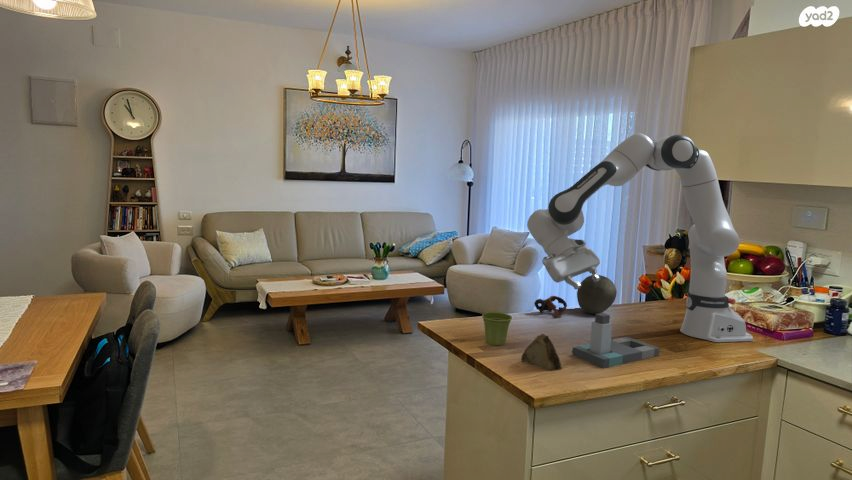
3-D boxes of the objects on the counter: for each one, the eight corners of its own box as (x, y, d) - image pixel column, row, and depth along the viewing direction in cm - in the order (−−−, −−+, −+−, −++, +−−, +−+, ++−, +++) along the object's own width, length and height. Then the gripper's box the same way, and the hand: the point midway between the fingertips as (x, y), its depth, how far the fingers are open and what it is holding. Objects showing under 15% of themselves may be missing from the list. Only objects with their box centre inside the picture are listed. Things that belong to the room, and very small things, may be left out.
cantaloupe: (588, 319, 210) (591, 279, 208) (569, 309, 223) (571, 272, 221) (621, 317, 214) (624, 278, 212) (600, 308, 227) (603, 271, 225)
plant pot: (514, 341, 180) (516, 315, 179) (504, 349, 172) (505, 321, 171) (487, 336, 184) (488, 310, 183) (476, 344, 176) (477, 317, 175)
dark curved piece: (557, 312, 221) (566, 296, 216) (561, 328, 213) (571, 313, 208) (529, 304, 219) (537, 288, 214) (532, 320, 211) (541, 304, 206)
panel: (626, 344, 181) (627, 336, 181) (658, 355, 171) (659, 347, 170) (572, 355, 169) (572, 347, 168) (603, 368, 159) (604, 359, 158)
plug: (598, 355, 169) (602, 312, 167) (609, 359, 166) (612, 315, 164) (589, 357, 167) (592, 313, 165) (599, 362, 163) (603, 317, 162)
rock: (510, 353, 161) (530, 360, 152) (525, 328, 163) (545, 333, 154) (536, 373, 165) (557, 380, 155) (550, 347, 167) (572, 354, 157)
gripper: (544, 252, 177) (571, 286, 171) (586, 238, 188) (613, 270, 182) (535, 264, 182) (561, 298, 175) (577, 250, 193) (603, 281, 187)
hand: (588, 284), depth 179 cm, fingers open, 8 cm apart
